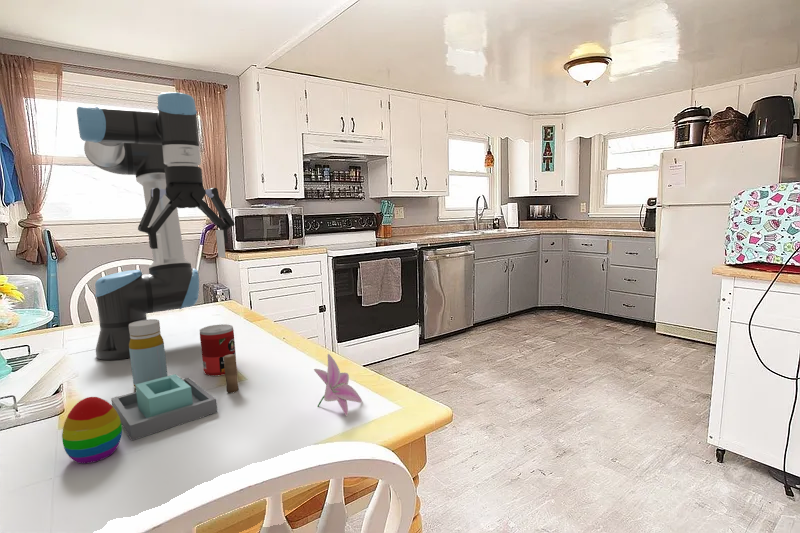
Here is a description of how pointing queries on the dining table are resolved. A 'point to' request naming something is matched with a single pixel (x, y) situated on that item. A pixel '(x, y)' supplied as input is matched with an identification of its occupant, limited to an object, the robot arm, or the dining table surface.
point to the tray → (144, 426)
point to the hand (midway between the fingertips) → (192, 260)
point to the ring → (163, 395)
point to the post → (231, 373)
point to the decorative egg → (91, 430)
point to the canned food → (216, 347)
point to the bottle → (146, 351)
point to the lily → (337, 386)
